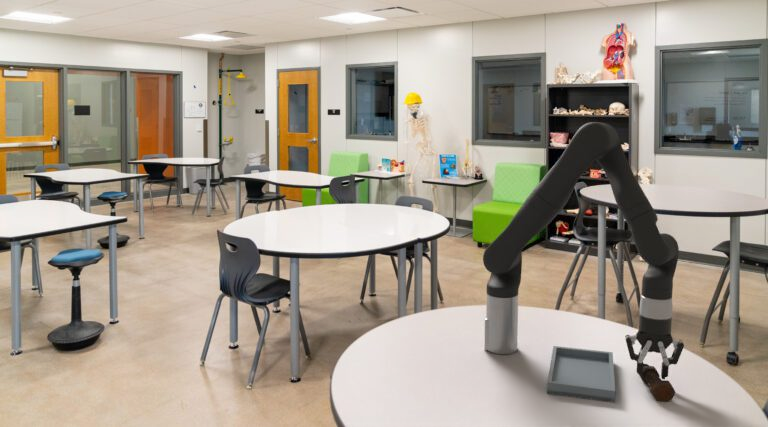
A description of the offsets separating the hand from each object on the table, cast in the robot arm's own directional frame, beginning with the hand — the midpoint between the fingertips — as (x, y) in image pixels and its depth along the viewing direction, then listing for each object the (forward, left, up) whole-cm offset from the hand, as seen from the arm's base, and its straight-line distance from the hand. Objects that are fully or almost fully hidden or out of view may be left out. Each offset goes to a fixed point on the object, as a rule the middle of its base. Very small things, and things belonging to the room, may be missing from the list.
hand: (652, 376), depth 153 cm
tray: (-17, 0, -3) cm, 17 cm away
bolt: (0, -1, -3) cm, 3 cm away
